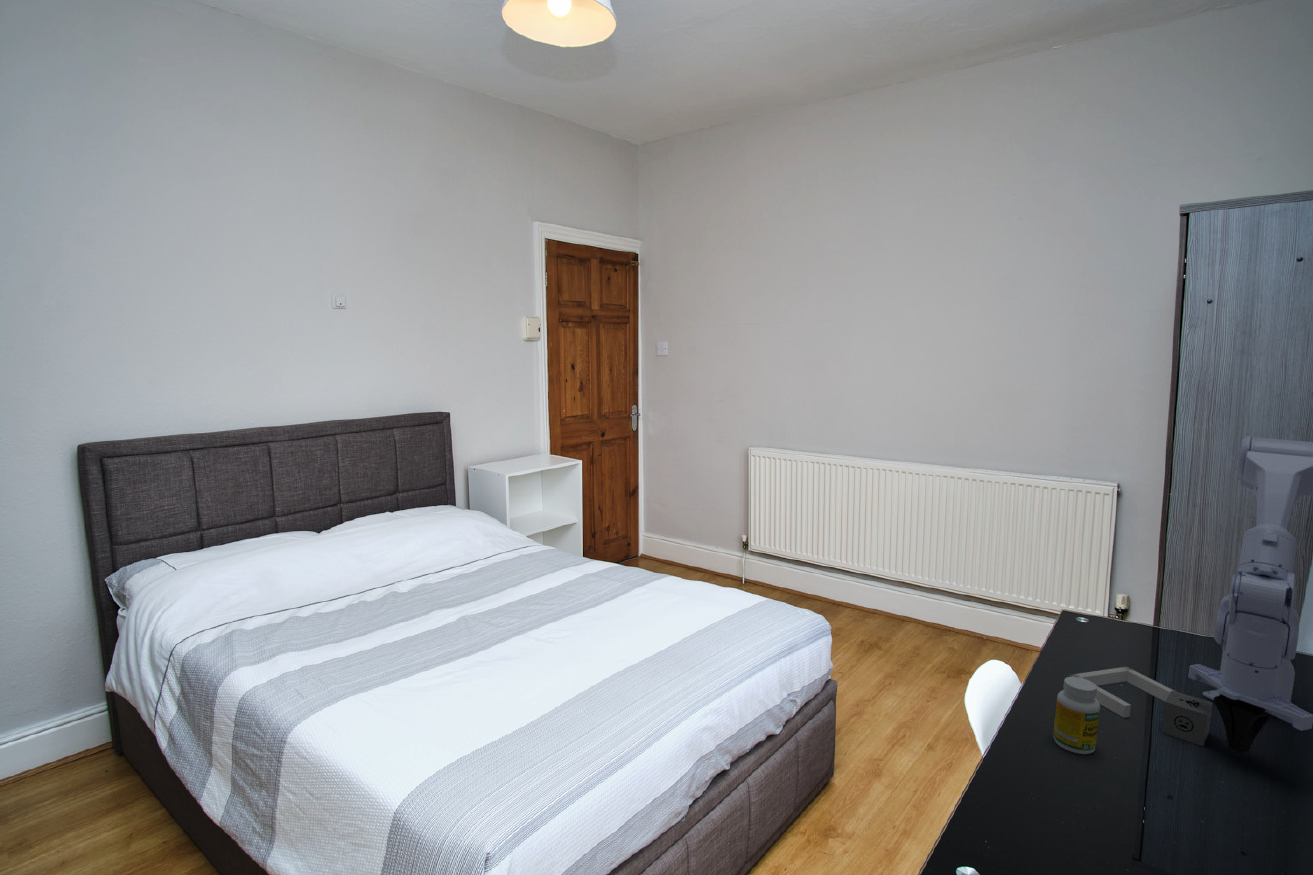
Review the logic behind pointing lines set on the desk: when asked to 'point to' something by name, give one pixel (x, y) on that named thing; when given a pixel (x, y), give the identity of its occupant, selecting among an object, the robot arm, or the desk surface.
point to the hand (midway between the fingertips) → (1238, 749)
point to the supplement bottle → (1077, 716)
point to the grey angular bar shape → (1122, 676)
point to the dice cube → (1187, 717)
